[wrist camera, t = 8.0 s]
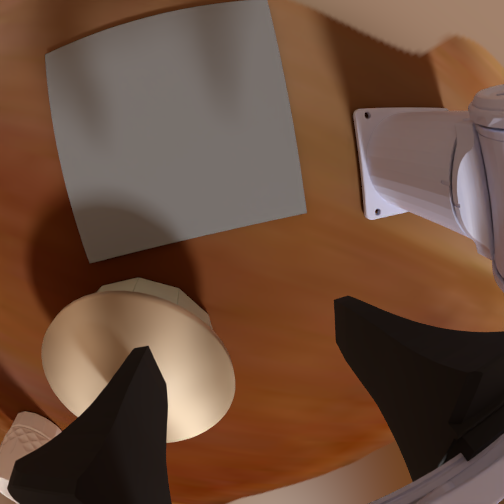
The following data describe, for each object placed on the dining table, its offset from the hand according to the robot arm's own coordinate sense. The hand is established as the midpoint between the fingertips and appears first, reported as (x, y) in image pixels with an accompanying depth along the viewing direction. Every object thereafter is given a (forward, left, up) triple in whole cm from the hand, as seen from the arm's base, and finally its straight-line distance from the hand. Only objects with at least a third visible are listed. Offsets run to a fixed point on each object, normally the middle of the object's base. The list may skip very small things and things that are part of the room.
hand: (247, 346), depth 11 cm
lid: (+8, +5, -6) cm, 11 cm away
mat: (+2, -9, -10) cm, 14 cm away
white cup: (+26, +16, -11) cm, 32 cm away
